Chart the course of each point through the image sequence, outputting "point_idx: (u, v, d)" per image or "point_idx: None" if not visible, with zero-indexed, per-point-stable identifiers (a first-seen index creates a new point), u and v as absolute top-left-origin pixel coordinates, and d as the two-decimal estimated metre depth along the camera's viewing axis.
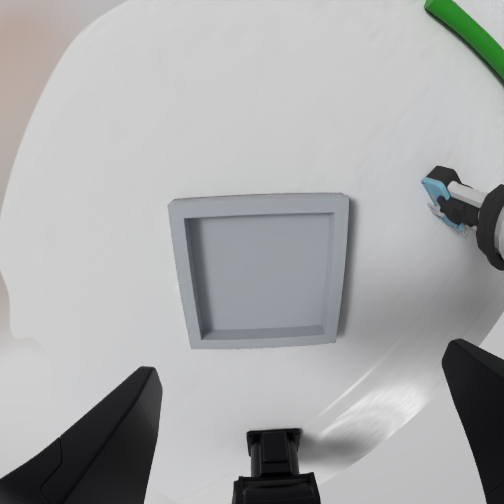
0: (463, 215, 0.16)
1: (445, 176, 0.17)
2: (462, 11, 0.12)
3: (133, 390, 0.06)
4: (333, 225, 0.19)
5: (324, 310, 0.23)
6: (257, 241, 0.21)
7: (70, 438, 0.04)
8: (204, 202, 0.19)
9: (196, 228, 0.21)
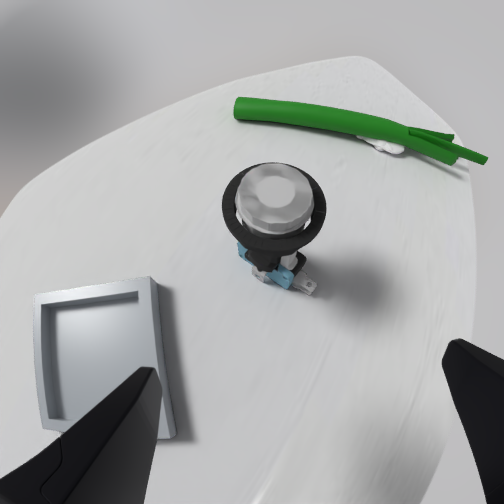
0: None
1: None
2: (261, 99, 0.28)
3: (133, 390, 0.06)
4: None
5: None
6: (91, 330, 0.20)
7: (70, 438, 0.04)
8: (53, 292, 0.20)
9: (53, 320, 0.21)
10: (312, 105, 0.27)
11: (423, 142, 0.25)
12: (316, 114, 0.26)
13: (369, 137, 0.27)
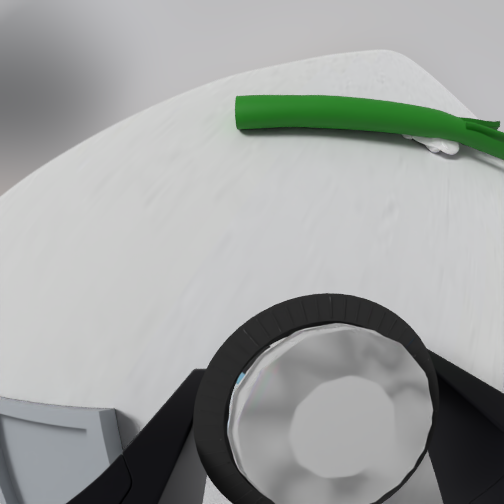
0: None
1: None
2: (274, 96, 0.18)
3: (194, 394, 0.06)
4: (91, 445, 0.10)
5: None
6: (41, 452, 0.11)
7: (135, 454, 0.04)
8: None
9: (0, 425, 0.11)
10: (348, 98, 0.18)
11: (481, 136, 0.17)
12: (358, 111, 0.18)
13: (422, 136, 0.19)
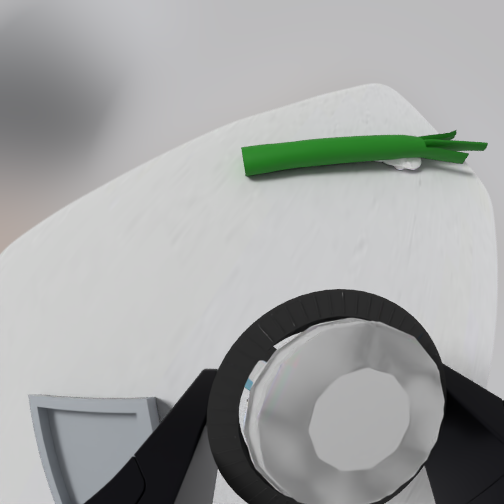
0: None
1: None
2: (271, 146, 0.25)
3: (205, 395, 0.06)
4: (139, 425, 0.17)
5: None
6: (92, 436, 0.17)
7: (147, 456, 0.04)
8: (47, 396, 0.17)
9: (52, 419, 0.17)
10: (330, 140, 0.24)
11: (439, 150, 0.24)
12: (339, 150, 0.24)
13: (390, 159, 0.26)
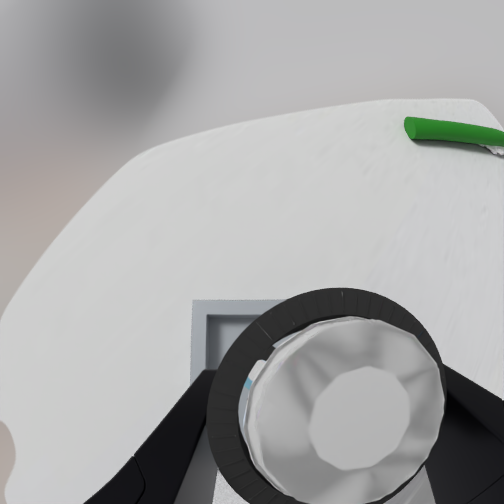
0: None
1: None
2: (429, 120, 0.26)
3: (205, 395, 0.06)
4: None
5: None
6: None
7: (147, 456, 0.04)
8: (228, 300, 0.20)
9: (216, 333, 0.20)
10: (461, 124, 0.26)
11: None
12: (467, 132, 0.26)
13: (490, 145, 0.27)
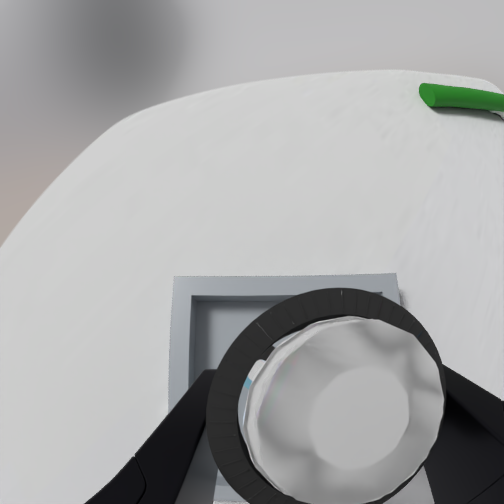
0: None
1: None
2: (444, 86, 0.22)
3: (205, 395, 0.06)
4: None
5: None
6: None
7: (148, 456, 0.04)
8: (221, 277, 0.15)
9: (205, 322, 0.15)
10: (474, 90, 0.22)
11: None
12: (481, 98, 0.21)
13: (501, 111, 0.23)
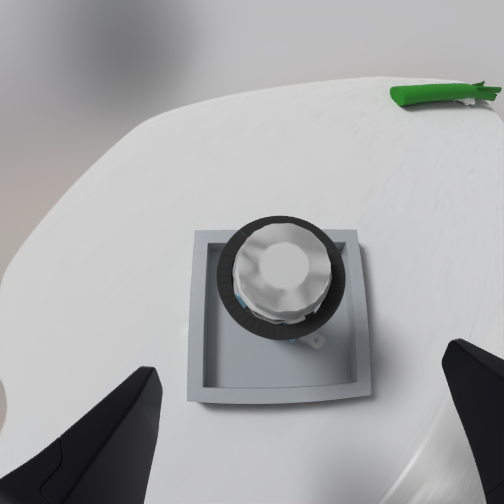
0: None
1: None
2: (411, 86, 0.28)
3: (133, 390, 0.06)
4: (347, 254, 0.20)
5: (352, 357, 0.18)
6: None
7: (70, 438, 0.04)
8: (228, 230, 0.21)
9: (216, 264, 0.22)
10: (437, 85, 0.28)
11: (483, 92, 0.29)
12: (444, 91, 0.28)
13: (462, 98, 0.30)
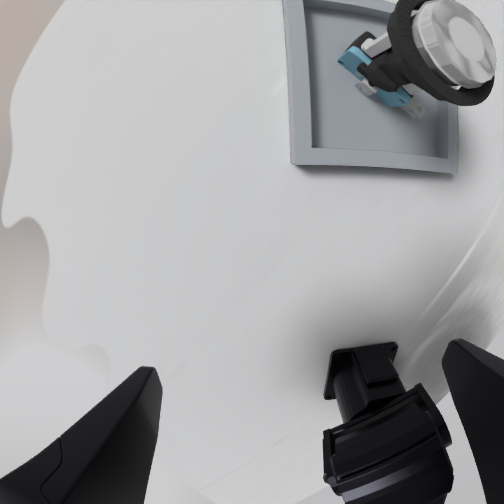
0: (390, 69, 0.11)
1: (358, 39, 0.12)
2: None
3: (133, 390, 0.06)
4: None
5: (441, 133, 0.16)
6: None
7: (70, 438, 0.04)
8: None
9: (308, 21, 0.14)
10: None
11: None
12: None
13: None
